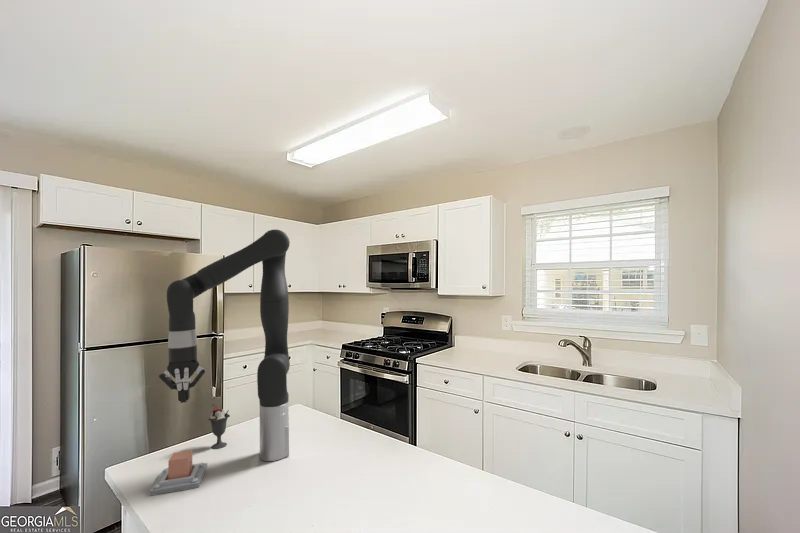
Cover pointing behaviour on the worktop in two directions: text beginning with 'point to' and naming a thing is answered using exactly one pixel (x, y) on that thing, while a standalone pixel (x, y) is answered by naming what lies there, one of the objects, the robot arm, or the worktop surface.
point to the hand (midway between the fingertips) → (183, 401)
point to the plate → (179, 480)
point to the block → (180, 465)
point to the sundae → (218, 425)
